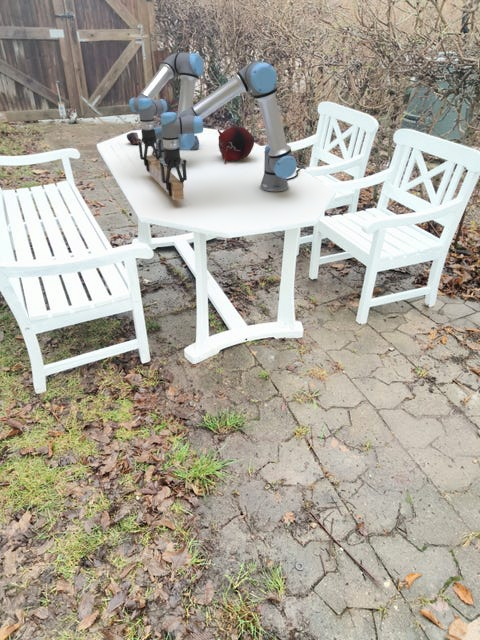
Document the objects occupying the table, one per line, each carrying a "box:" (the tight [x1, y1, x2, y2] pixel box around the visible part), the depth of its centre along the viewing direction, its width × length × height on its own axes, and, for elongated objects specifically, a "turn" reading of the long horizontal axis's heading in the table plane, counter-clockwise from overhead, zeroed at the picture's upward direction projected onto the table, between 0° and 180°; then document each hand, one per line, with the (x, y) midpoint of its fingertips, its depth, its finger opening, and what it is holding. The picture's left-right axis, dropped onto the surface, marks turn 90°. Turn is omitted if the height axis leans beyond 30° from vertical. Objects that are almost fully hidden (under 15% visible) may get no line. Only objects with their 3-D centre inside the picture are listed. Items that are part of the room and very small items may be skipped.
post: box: [145, 154, 185, 201], centre depth 245 cm, size 59×5×8 cm, turn 23°
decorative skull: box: [217, 125, 255, 165], centre depth 297 cm, size 21×24×25 cm
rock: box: [126, 132, 142, 145], centre depth 336 cm, size 12×9×10 cm
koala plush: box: [190, 135, 200, 151], centre depth 323 cm, size 17×18×20 cm
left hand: (152, 170), depth 265 cm, fingers closed on post, 5 cm apart
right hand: (175, 195), depth 229 cm, fingers closed on post, 5 cm apart
